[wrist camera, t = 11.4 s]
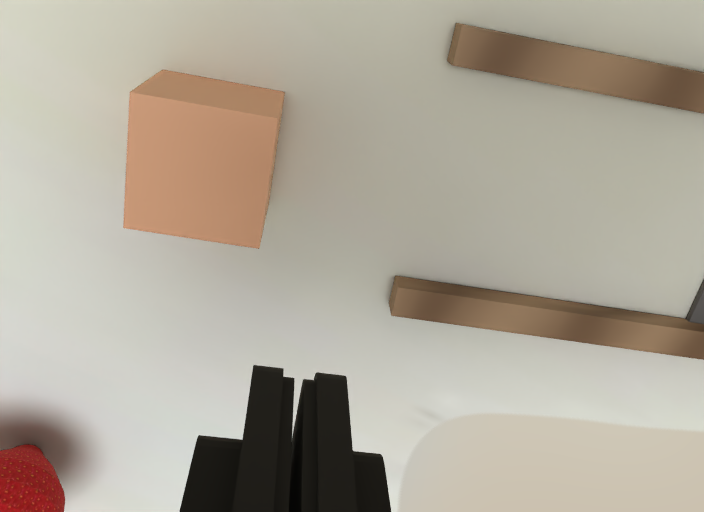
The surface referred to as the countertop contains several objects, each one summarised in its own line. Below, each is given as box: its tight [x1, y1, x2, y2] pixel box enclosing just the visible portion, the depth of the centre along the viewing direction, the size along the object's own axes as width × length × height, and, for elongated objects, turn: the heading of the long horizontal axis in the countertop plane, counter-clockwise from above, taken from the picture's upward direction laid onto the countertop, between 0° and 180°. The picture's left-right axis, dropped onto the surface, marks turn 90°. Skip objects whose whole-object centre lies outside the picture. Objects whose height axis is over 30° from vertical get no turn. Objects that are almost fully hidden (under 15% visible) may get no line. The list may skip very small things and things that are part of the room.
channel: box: [389, 23, 704, 360], centre depth 29 cm, size 20×13×1 cm, turn 79°
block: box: [123, 70, 285, 249], centre depth 25 cm, size 5×5×5 cm
